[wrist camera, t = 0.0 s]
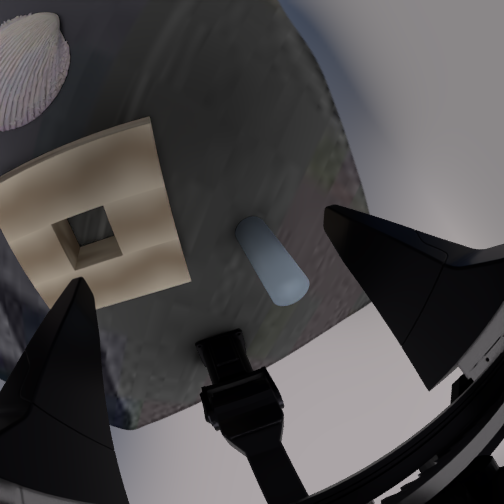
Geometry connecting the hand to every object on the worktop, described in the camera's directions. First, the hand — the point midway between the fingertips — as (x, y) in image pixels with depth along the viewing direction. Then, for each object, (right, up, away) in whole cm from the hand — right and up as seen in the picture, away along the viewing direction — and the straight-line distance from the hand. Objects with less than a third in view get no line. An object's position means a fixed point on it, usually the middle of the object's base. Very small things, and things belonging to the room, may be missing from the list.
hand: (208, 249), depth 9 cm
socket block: (-12, +3, +12) cm, 17 cm away
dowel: (+1, +2, +19) cm, 19 cm away
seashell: (-17, +14, +2) cm, 22 cm away
